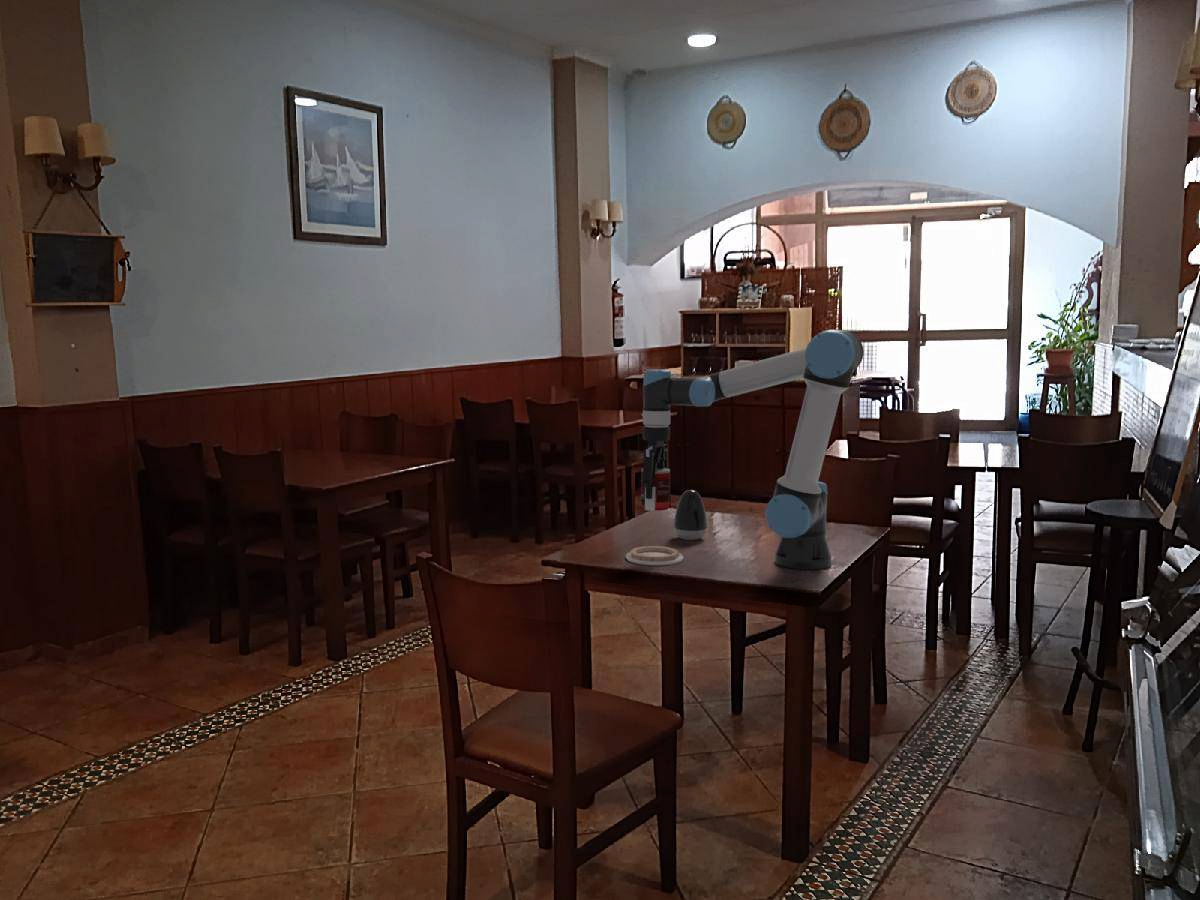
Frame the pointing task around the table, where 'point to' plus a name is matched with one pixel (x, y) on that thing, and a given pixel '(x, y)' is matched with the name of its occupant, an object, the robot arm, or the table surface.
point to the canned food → (659, 489)
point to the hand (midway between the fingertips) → (655, 507)
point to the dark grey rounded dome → (690, 516)
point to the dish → (654, 556)
